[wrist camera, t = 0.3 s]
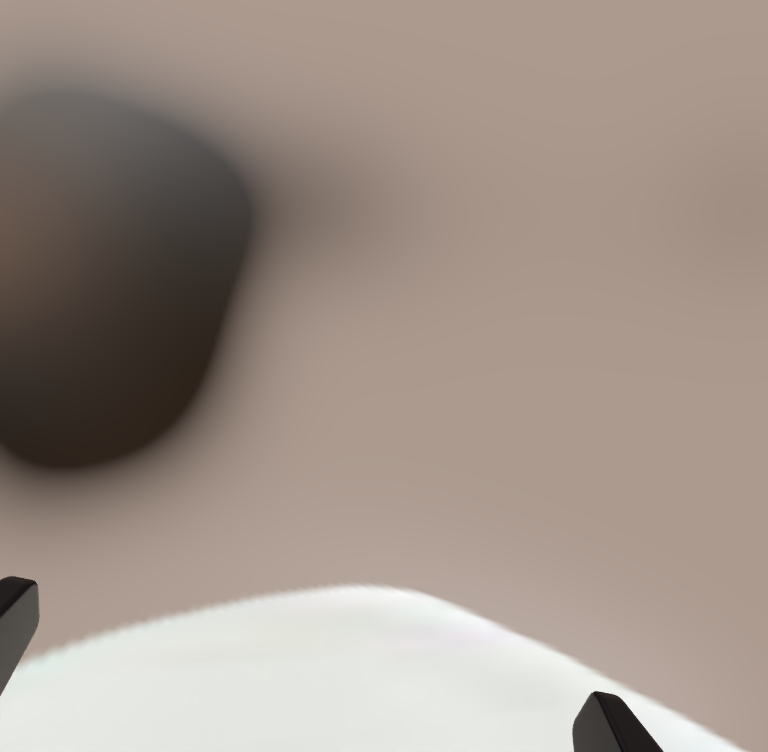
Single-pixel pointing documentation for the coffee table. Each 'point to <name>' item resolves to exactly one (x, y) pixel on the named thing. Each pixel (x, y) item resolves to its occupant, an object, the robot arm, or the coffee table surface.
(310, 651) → the coffee table surface
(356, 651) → the coffee table surface
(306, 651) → the coffee table surface
